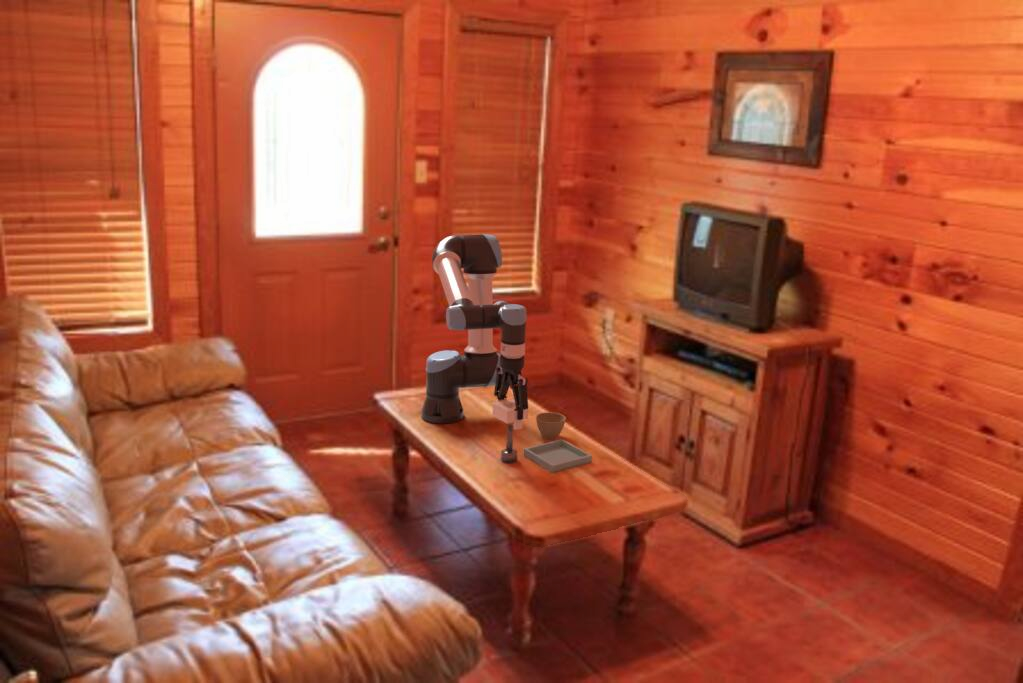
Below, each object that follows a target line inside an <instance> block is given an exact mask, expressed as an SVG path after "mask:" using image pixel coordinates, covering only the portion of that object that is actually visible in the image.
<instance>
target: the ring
mask: <svg viewBox="0 0 1023 683" xmlns="http://www.w3.org/2000/svg"><path fill="white" fill-rule="evenodd" d="M514 409H516V405H515V400H514V398H510V399H507V400H506V401H501V402H498V401H497V402H493V403H492V416H493V417H495V418H497V420H498V419H500V420H499V421H502V422H503V423H505V424H512V423H514ZM528 419H529V408H528V409H525V410H523V419H522V421H525V420H528Z"/></svg>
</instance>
